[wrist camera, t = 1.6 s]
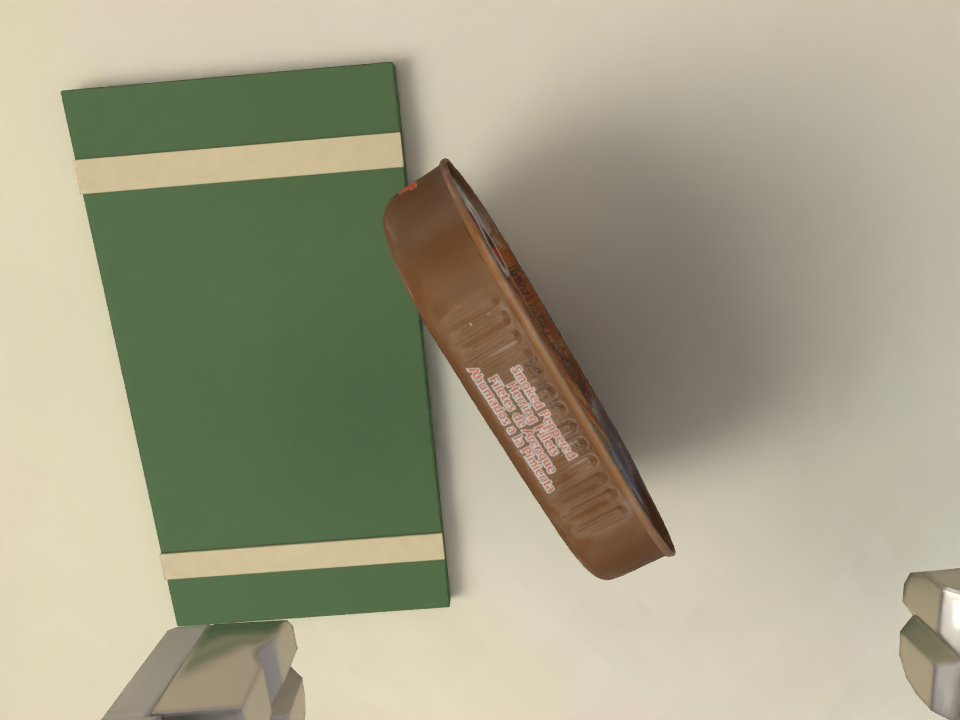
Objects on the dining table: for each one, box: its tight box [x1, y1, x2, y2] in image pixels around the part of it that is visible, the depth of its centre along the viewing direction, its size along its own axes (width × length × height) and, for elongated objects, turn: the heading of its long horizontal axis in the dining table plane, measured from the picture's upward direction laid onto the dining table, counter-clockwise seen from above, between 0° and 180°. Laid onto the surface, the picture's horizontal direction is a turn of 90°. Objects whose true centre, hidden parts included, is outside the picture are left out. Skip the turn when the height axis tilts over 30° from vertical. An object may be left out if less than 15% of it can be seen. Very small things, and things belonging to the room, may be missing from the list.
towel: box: [61, 62, 450, 626], centre depth 25 cm, size 12×22×1 cm, turn 5°
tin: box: [383, 158, 675, 580], centre depth 21 cm, size 15×3×8 cm, turn 31°
